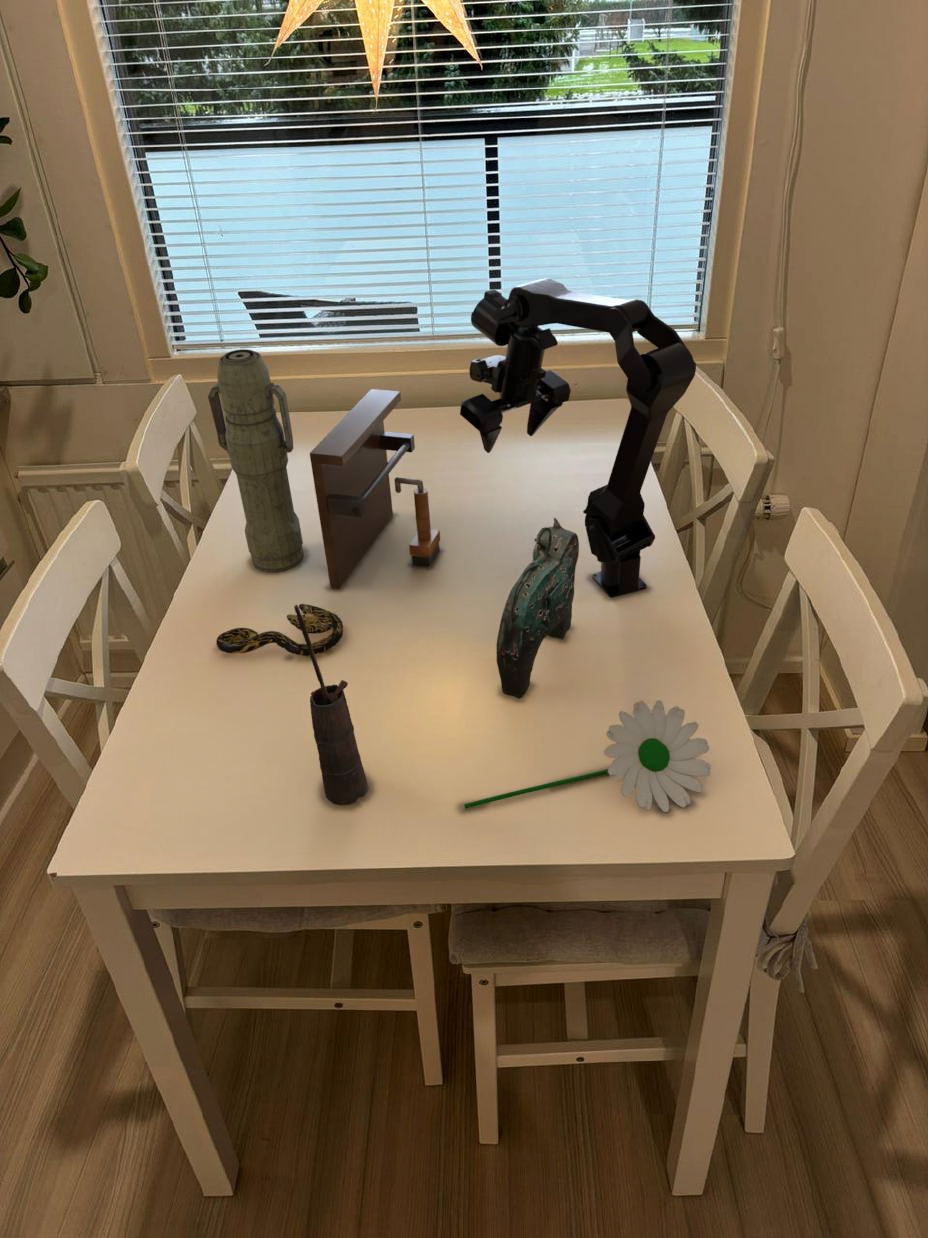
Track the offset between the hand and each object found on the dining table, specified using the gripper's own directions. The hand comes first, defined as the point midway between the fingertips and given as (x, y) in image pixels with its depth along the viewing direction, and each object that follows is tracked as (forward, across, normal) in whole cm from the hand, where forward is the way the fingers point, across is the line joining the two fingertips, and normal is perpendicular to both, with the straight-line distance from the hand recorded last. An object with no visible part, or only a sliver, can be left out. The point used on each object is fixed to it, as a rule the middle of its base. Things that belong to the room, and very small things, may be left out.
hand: (508, 442), depth 153 cm
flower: (+1, +33, +56) cm, 65 cm away
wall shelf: (+16, +23, -2) cm, 28 cm away
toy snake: (+13, +48, +8) cm, 50 cm away
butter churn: (+6, +55, +38) cm, 67 cm away
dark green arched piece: (+6, +22, +35) cm, 42 cm away
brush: (+14, +19, +3) cm, 24 cm away
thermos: (+19, +37, -12) cm, 43 cm away
